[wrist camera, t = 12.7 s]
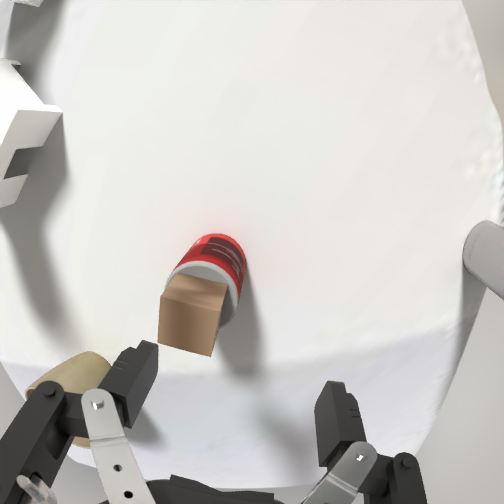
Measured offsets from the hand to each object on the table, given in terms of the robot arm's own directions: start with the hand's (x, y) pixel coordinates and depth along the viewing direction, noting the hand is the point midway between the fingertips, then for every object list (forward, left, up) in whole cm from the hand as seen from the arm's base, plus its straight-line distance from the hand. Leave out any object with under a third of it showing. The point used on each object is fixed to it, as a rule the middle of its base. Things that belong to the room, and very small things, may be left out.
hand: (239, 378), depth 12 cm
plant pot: (+24, +34, -26) cm, 49 cm away
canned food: (+4, +5, -26) cm, 27 cm away
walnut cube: (+4, +6, -15) cm, 17 cm away
